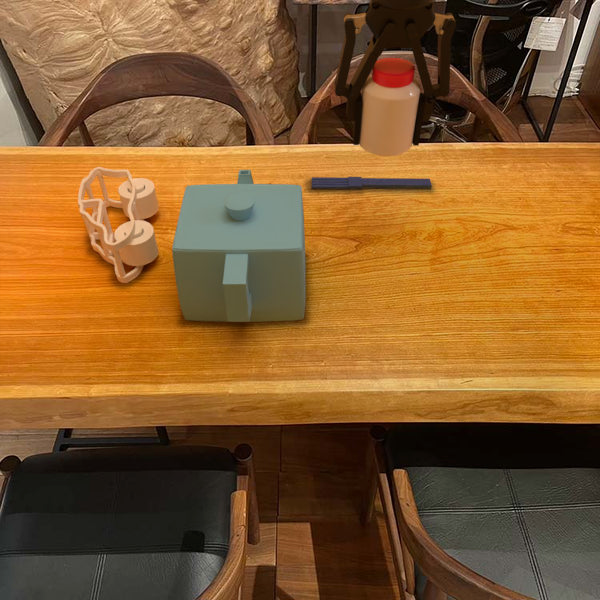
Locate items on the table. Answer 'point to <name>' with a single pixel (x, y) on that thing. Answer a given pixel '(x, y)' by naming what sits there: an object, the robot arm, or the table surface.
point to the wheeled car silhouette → (129, 236)
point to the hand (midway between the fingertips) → (385, 140)
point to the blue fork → (369, 183)
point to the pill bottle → (389, 108)
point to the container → (241, 252)
